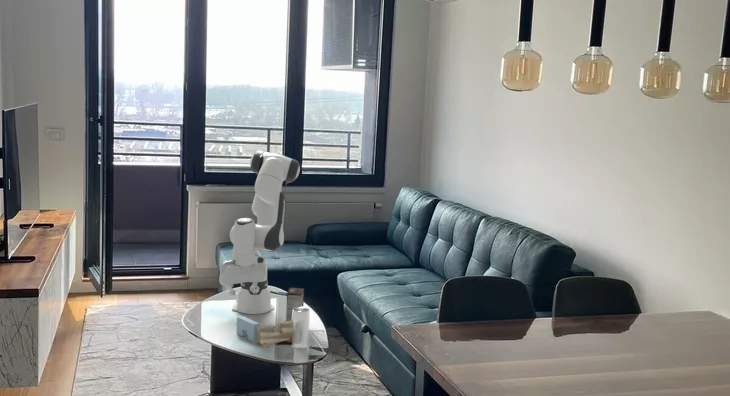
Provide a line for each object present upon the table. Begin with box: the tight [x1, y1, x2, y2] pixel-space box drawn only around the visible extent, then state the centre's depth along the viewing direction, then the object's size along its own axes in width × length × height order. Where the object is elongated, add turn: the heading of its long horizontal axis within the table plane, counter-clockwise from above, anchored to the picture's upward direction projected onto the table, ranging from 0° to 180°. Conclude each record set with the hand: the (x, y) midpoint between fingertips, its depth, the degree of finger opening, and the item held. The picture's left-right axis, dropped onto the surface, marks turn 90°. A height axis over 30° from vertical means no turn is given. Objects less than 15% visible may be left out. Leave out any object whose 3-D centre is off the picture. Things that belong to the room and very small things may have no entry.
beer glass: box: [291, 306, 311, 350], centre depth 267 cm, size 7×7×15 cm
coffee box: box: [285, 287, 305, 321], centre depth 289 cm, size 9×6×16 cm
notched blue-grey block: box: [236, 315, 260, 343], centre depth 275 cm, size 12×2×7 cm, turn 43°
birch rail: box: [254, 320, 293, 349], centre depth 272 cm, size 6×16×7 cm, turn 133°
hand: (242, 293), depth 277 cm, fingers open, 8 cm apart
